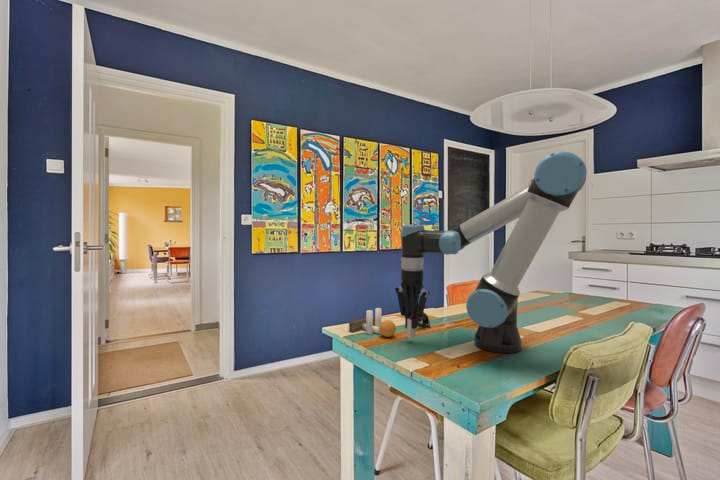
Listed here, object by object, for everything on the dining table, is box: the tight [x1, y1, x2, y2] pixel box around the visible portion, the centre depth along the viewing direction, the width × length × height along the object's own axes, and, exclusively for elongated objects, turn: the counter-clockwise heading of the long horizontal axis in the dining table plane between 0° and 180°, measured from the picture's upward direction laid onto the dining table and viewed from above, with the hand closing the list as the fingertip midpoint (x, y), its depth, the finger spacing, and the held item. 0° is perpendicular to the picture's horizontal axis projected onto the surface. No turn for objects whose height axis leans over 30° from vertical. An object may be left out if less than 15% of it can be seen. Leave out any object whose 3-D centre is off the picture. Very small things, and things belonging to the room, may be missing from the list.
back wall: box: [348, 316, 375, 333], centre depth 141 cm, size 2×13×4 cm, turn 137°
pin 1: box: [365, 309, 374, 335], centre depth 135 cm, size 2×2×8 cm
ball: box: [379, 319, 397, 338], centre depth 132 cm, size 6×6×6 cm
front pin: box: [362, 323, 382, 335], centre depth 138 cm, size 2×2×8 cm
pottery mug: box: [404, 311, 431, 329], centre depth 146 cm, size 12×10×8 cm
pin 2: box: [374, 307, 383, 327], centre depth 139 cm, size 2×2×8 cm
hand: (411, 336), depth 126 cm, fingers closed
